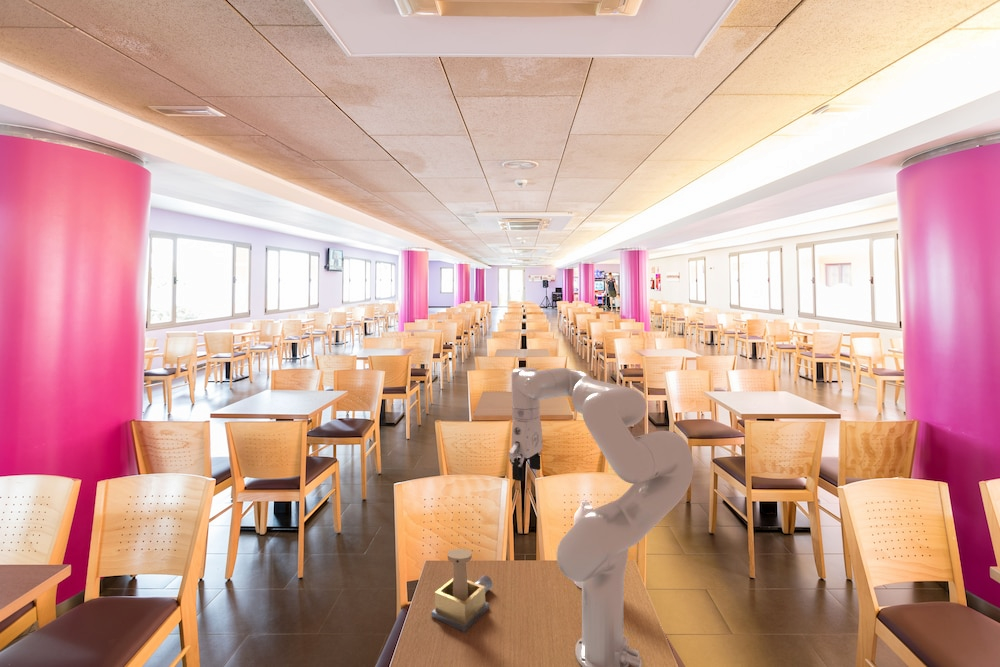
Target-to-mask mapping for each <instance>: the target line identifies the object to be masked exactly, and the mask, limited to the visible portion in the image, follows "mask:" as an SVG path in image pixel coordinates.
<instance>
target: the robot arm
mask: <svg viewBox="0 0 1000 667" xmlns="http://www.w3.org/2000/svg"><path fill="white" fill-rule="evenodd" d="M559 397H569V398H571V404H572V406H573V409H575V411H576V412H577V413H580V414H581V415H582V418H583V421H584V423H585V426H586V427H587V428H586V429H588V431H589V433H590V435H591V436H592V438H593V440H594V441H595V443H596V445H597V446H598V448H599V449H600V451H601V453H602V454H603V456H604V458H605V459H606V460H607V463H608V465H609V466H610V467H611V469H612V470H613V472H614V474H616V476H618V477H619V478H620V479H621V480H623V481H624V482H626V483H629V484H632V485H631V486H629V488H628V489H627V491H625V493H623V494H622V495H621V496H620V497H618V498H617V499H616V500H614V501H611V502H608V503H607V504H604V505H601V506H599V507H596V508H593V510H591V511H590V512H588V513H586V514H585V515H584V516H582V517H581V518H580V519H579V520H578V521H577V523H576V524H575V525H574V524H573V526H572V527H571V528H570V529H569V530H568V531H567V532H566V534H565V535H563V537H562V538H561V540H560V541H559V544H558V545H557V548H556V550H557V551H556V563H557V566H558V568H559V570H560V571H561V573H562V574H563V575H564V576H565V577H566V578H567V579H568V580H570V581H573V582H574V581H576V582H582V588H581V637H580V638H579V639H578V640H577V642H576V644H575V657H576V660H577V661H578V663H579V664H580V666H581V667H629V666H630V665H631V666H632V667H642V660H643V659H642V658H640V650H637V649H635V648H631V647H630V646H629V645H628V638H627V637H625V636H624V620H625V619H624V616H625V615H624V614H625V613H624V609H625V607H624V606H625V604H624V603H625V602H624V600H625V599H624V596H625V594H624V593H625V572H626V567H627V563H628V558H629V549H630V548H632V547H634V546H635V545H637V544H638V543H639V542H641V541H642V540H643V538H644V537H645V536H646V535H647V534H649V532H650V531H651V530H652V529H654V527H656V525H658V524H659V523H660V522H661V520H662V519H663V518H665V516H666V515H668V513H670V512H671V511H672V510H673V509H674V508H675V506H677V505H678V504H679V502H680V501H681V500H682V499H683V497H684V496H685V495H686V492H687V491H688V490H689V487H690V485H691V483H692V479H693V474H694V460H693V459H694V458H693V455H692V451H691V448H690V446H689V444H688V443H687V441H686V440H685V438H684V437H682V436H681V435H680V434H679V433H676V432H674V431H673V432H672V431H668V430H657V431H651V432H649V433H645V434H641V435H637V436H633V434H632V432H631V431H630V430H629V428H630V427H632V426H635V425H637V424H638V423H640V422H641V421H642V419H644V417H645V416H646V413H647V402H646V400H645V398H644V396H643V395H642V394H641V393H640V392H639V391H638V390H636V389H633V388H631V387H627V386H623V385H620V384H616V383H611V382H607V381H602V380H599V379H593V378H592V377H591V376H590V375H589V374H588V373H587V372H584V371H580V370H578V369H577V370H576V369H572V368H566V367H556V368H555V367H554V368H548V369H540V370H538V369H537V368H536V367H529V366H527V367H525V366H523V367H516V368H514V369H513V370H512V371H511V415H512V416H511V419H512V424H511V425H512V427H511V447H510V448H511V449H510V450H509V452H508V457H509V462H510V465H511V466H512V467H511V468H512V469H511V471H512V472H511V473H512V475H511V478H512V480H513V481H519V482H524V481H525V476H524V475H525V473H524V471H525V470H524V469H525V467H524V466H523V463H524V461H525V459H529V468H530V469H531V470H536V471H540V470H541V469H542V468H541V454H542V449H543V448H544V447H543V446H544V445H543V430H542V428H543V427H542V421H541V417H540V416H541V413H540V412H541V411H540V401H542V400H543V401H544V400H548V399H552V398H554V399H555V398H559Z"/></svg>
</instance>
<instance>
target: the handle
mask: <svg viewBox="0 0 1000 667" xmlns="http://www.w3.org/2000/svg"><path fill="white" fill-rule="evenodd" d="M472 557H473V554H472V551H471V550H469V549H465V548H455V549H454V548H453V549H450V550H449V551H448V552H447V560H448V561H449V562H450V563H453V577H452V578H453V596H454V597H455V598H457V599H460V600H462V601H465V600H466V599H467V598H468V582H467V580H468V573H467V572H468V571H467V563H469V562H470V561H471V560H472Z"/></svg>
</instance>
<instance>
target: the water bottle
mask: <svg viewBox="0 0 1000 667" xmlns="http://www.w3.org/2000/svg"><path fill="white" fill-rule="evenodd" d="M591 510H594V507H593V506H592V505H591V504H590V501H589V500H588V499H582V500H580V505H579V507H578V508H577V510H576V512H574V516H573V526H574V525H575V524H576V523H577V521H578V520H579V519H580V518H581V517H582V516H584V515H585V514H586V513H588V512H590V511H591ZM573 583H574V585H575V586H576V587H578V589H582V582H576V581H573Z"/></svg>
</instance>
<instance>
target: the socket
mask: <svg viewBox="0 0 1000 667" xmlns="http://www.w3.org/2000/svg"><path fill="white" fill-rule="evenodd" d="M467 582H468V598H467V599H466V600H465V601H462V600H460V599H457V598H455V597H454V596H453V577H452V578H451V579H450V580H448V581H447V582H446V583H444V584H443V585H442V586H441V587H440V588H438V589H437V590H436V591H434V603H435V604H434V609H433V610H432V611H431V618H433V619H435V620H437V621H439V622H442V623H444V624H446V625H448V626H450V625H451V627H453V628H454V629H457V630H459V631H461V632H463V633H466V632H467V631H468V629H470V628H471V627H472V625H474V624H475V623H476V622H477V621H478V620H479V618H480V617H482V616H483V615H484V614H485V613H486V612H487V611H488V610H489V608H490V603H489V602H488V601H486V593H487V592H488V591H490V590H491V589H492V587H493V580H492V579H491V577H490V576H489V575H487V574H484V575H482V576H481V577H480V578H478V579H477V580H476V581H475V582H474V581H472V580H469V579H467Z"/></svg>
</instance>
